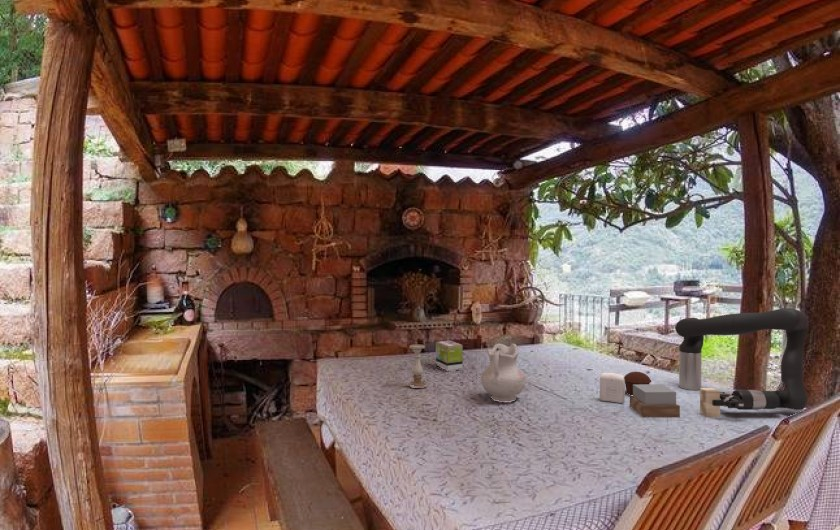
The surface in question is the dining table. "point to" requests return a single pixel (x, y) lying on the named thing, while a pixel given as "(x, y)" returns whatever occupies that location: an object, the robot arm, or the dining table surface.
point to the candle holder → (417, 365)
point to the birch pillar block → (709, 402)
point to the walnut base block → (654, 409)
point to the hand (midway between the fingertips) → (706, 399)
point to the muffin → (635, 380)
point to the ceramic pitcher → (503, 373)
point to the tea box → (449, 355)
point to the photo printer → (612, 387)
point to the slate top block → (654, 394)
